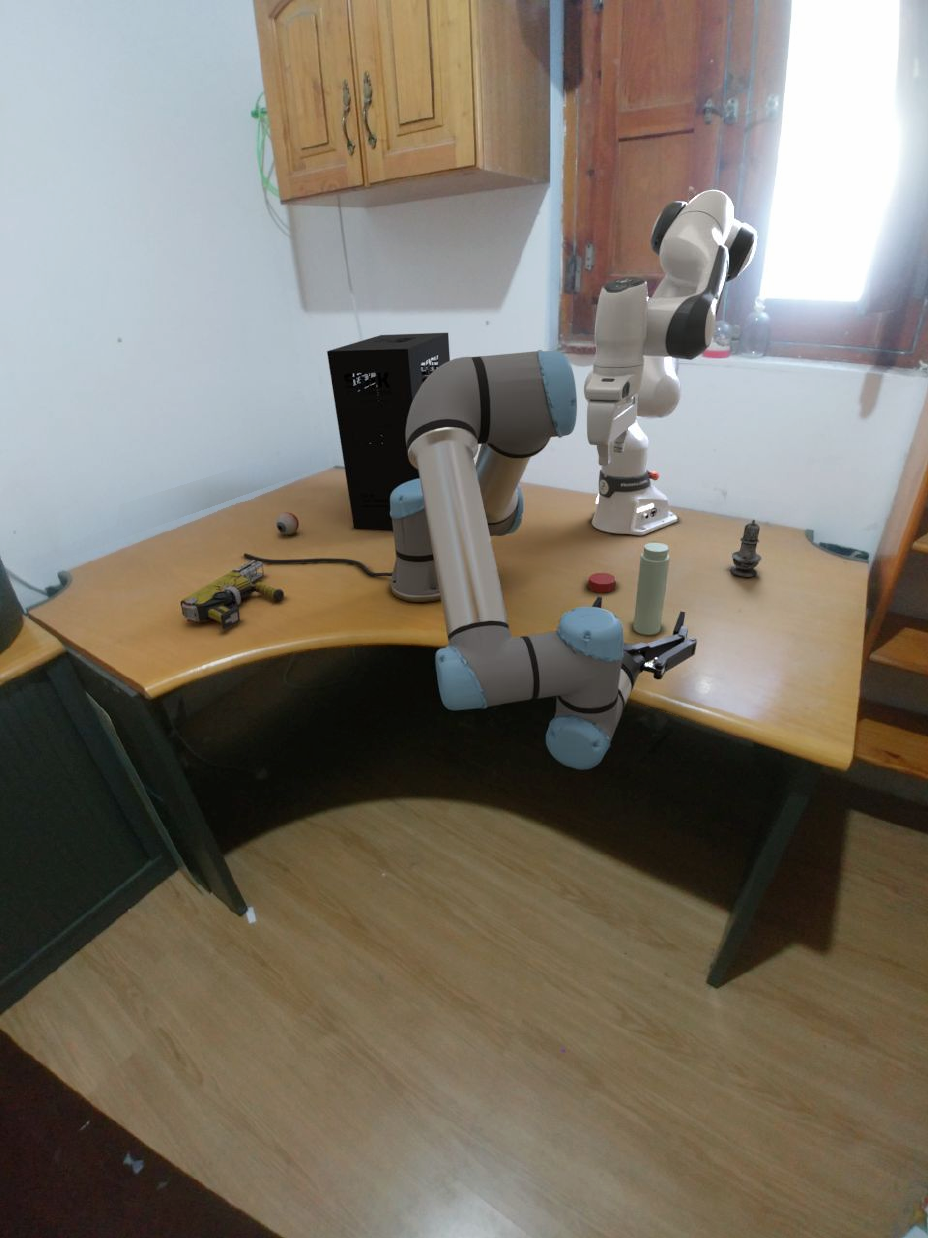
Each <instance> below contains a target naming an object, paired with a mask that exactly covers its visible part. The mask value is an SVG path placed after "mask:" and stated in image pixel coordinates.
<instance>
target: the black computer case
mask: <svg viewBox="0 0 928 1238" xmlns="http://www.w3.org/2000/svg"><path fill="white" fill-rule="evenodd" d="M326 354H327V360H328V369H329V373H330V380H331V387H332V393H333V400H334V406H335V415H336V420H337V426H338V427H337V428H338V433H339V439H340V440H339V441H340V448H341V454H342V460H343V466H344V472H345V478H346V486H347V493H348V500H349V506H350V511H351V520H352V525H353V529H360V530H361V529H362V530H363V529H364V530H366V529H367V530H389V531H393V523H392V517H391V516H390V511H391V506H390V496H391V493H392V492H393V490H394V489H395V488H397V487H398V486H400V485H401V484H403V483H406V482H408V481H411V480H414V479H419V478H420V476H419V471H418V469H416V468H415V467H414V466H413V465H412V464H411V463H410V461H409V458H408V452H407V446H406V424H407V418H408V414H409V411H410V407H411V404H412V402H413V400H414V398H415V395H416V394H417V392H418V390H419V389H420V387H421V385H422V383H423V382H424V381H425V380H426V379H427V378H428V376H429V375H430V374H431V373H432V372H433V371H434V370H436V369H437V368H438V367H440V366H441V365H443V364H444V363H446V362H448V361H451V358H450V357H451V356H450V355H451V354H450V341H449V332H427V333H400V334H399V333H397V334H395V333H394V334H379V335H377V336H373V337H370V338H367V339H363V340H359V341H356V342H353V343H350V344H347V345H342V346H340V347H336V348H333V349H330V350H327V351H326ZM429 361H430V362H429ZM436 363H437V364H436Z"/></svg>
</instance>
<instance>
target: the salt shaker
mask: <svg viewBox="0 0 928 1238" xmlns="http://www.w3.org/2000/svg"><path fill="white" fill-rule="evenodd" d="M760 530H761V527H760V525H759V524H757V523H756V519H752V520H751V522H749V523H746V525H744V529H743V534H742V537H741V538H740V541H741V543H740V548H739V550H737V551H734V552H732V553H731V557H732V563H733V565H734V566H732V567H731V568H730V572H731V573H732V574H734V575H735V576H738V577H743V578H750V577H754V576H756V575H757V574H758V571H757V569H755V568H756V567H758V565H759V563H760V561H761V560H762V555H760V554H758V553H757V547H758V543H760V540H759V535H760Z"/></svg>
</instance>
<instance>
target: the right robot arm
mask: <svg viewBox="0 0 928 1238" xmlns="http://www.w3.org/2000/svg"><path fill="white" fill-rule="evenodd" d="M734 212H735V211H734V205H733V203H732V200H731V199H730V197H729V196H728V195H727V194H726V193H724V192H723V191H720V190H716V189H710V190H705V191H702V192H700V193H699V194H697V195H696V196H695V197H694V198H692V199H691V200H690V201H689V202H688V203H687V202H686V201H673V202H670V203H669V204H667V205H666V206H664V208H663V209H662V211H661V212H660V213H659V214H658V216H657V218H655V222H654V224H653V225H652V230H651V240H650V246H651V250H652V252H654V254H656V255H657V256H659V263H660V266H661V268H662V271H663V272H664V274H665V275H664V277H663V278H662V280H661V281H660V282H659V284H658V286H657V287H656V289H655V291H654V293H653V294H652V296H649V293H648V283H647V280H646V279H644V278H641V277H635V276H632V277H631V276H630V277H628V276H627V277H622V278H618V279H612V280H610V281H608V282H606V283H605V284H604V285H603V286H602V287H601V290H600V292H599V297H598V300H597V307H596V313H595V324H594V344H595V355H594V357H593V361H592V369H590V371H589V373H588V374H587V375H586V378H585V380H584V385H583V394H584V398H585V400H586V402H587V408H586V436H587V442H588V444H589V445H590V446H596V450H597V454H598V465H599V466H601V468H600V470H599V474H598V492H599V493H598V495H597V497H596V500H595V504H596V507H595V511H594V514H593V517H592V520H591V525H592V526H593V527H594V528H595V529H597V530H599V531H601V532H605V533H611V534H623V535H625V534H626V535H632V536H633V535H634V536H645V535H646V534H650V533H652V532H654V531H657V530H660V529H662V528H665V527H668V526H670V525H672V524H675V523H677V522H678V516H677V515H676V514H675V513H674V512H672V511H670V503H669V502H670V501H669V498H668V497H667V496H666V495H665V494H664V493H663V492H661V491H660V490H659V489H658V488H656V487H655V486H654V485H652V483H651V480H653V481H658V479H659V478H660V473H659V472H657V471H654V470H651V471H649V470H648V469H647V466H648V458H649V457H648V456H649V446H650V442H649V437H648V435H647V434H646V433H645V432H644V431H643V430H642V428H641V427H640V425H639V422H638V419H637V418H640V419H646V420H649V419H663V418H667V417H668V416H670V415H671V414H672V413H673V412H674V411H675V410H676V408H677V407H678V405H679V403H680V400H681V396H682V383H681V382H680V379H679V377H678V376H677V373H676V361H677V359H680V360H688V361H692V360H694V359H696V358H697V357H699V356H700V355H701V354H703V353H704V352H705V351H706V350H707V349H708V348H709V347H710V345H711V342H712V340H713V337H714V334H715V329H716V322H717V321H716V320H717V315H718V313H719V312H718V311H719V308H720V305H721V301H722V297H723V294H724V290H725V287H726V283H729V282H730V281H732V280H735V279H736V278H737V277H739V275H740V274H741V273H742V272H743V271H744V270H745V269H746V268H747V267H748V266H749V264H750V263H751V261H752V259H753V257H754V254H755V251H756V248H757V247H756V246H757V239H758V235H757V233H758V232H757V231H756V230H755V228H753V227H752V226H751V225H749V224H748V223H746V222H744V223H742V222H740V221H739V220H737V219H735V218H734Z"/></svg>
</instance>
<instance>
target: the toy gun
mask: <svg viewBox="0 0 928 1238" xmlns="http://www.w3.org/2000/svg"><path fill="white" fill-rule="evenodd" d="M260 569H261V571H262V572H258V570H260ZM264 575H265V571H264V564H263V562H261V561H257V560H254V559H251V560H250V561H248V562H247V563H244V565H242V566H239V567H238V568H237V569H233V570H231V571H229V572H228V573H226V574H224V575H222V576H220V577H219V578H217V579H216V580H214V581H212V582H211V583H209V584H207V585H205V586H204V587H202V588H200V589H198V590H196V591H195V592H193V593H191V594H190V595H188V596H186V597H184V598H183V599H182V600H181V601H180V602H179V603H180V607H181V613H182V616H183V617H184V618H185V619H186V620H187V622H189V623H190V622H191V623H196V622H198V623H203V622H208V621H212V620H214V621H216V622H219V623H221V625H222V626H221V627H222V630H223V629H224V630H227V629H228V628H230V627H232V626H234V625H236V624H238V623H240V622H241V617H240V616H241V615H240V609H239V605H241V602H242V599H244V598H245V597H247V596H250V595H252V594H253V593H254V592H255V593H258V594H260V595H262V596H263V595H264V597H268V598H270V599H273V600H274V601H277V602H279V601H281V600H283V599H284V597H285V593H284V591H283V590H282V589H281V588H275V587H274V586H271V585H268V584H266V583H263V582H260V581H258V582H256V583H255V584H254V585H253V584H252V583H254V582H255V581H257V580H258V579H260V578H261V577H264Z"/></svg>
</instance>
